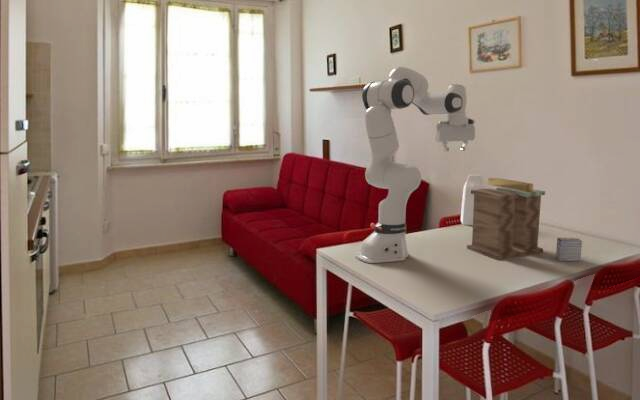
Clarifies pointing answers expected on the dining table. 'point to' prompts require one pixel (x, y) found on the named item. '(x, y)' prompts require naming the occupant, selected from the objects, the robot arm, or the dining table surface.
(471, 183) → the milk
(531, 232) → the twin stand
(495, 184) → the oak bar
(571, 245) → the medicine box
